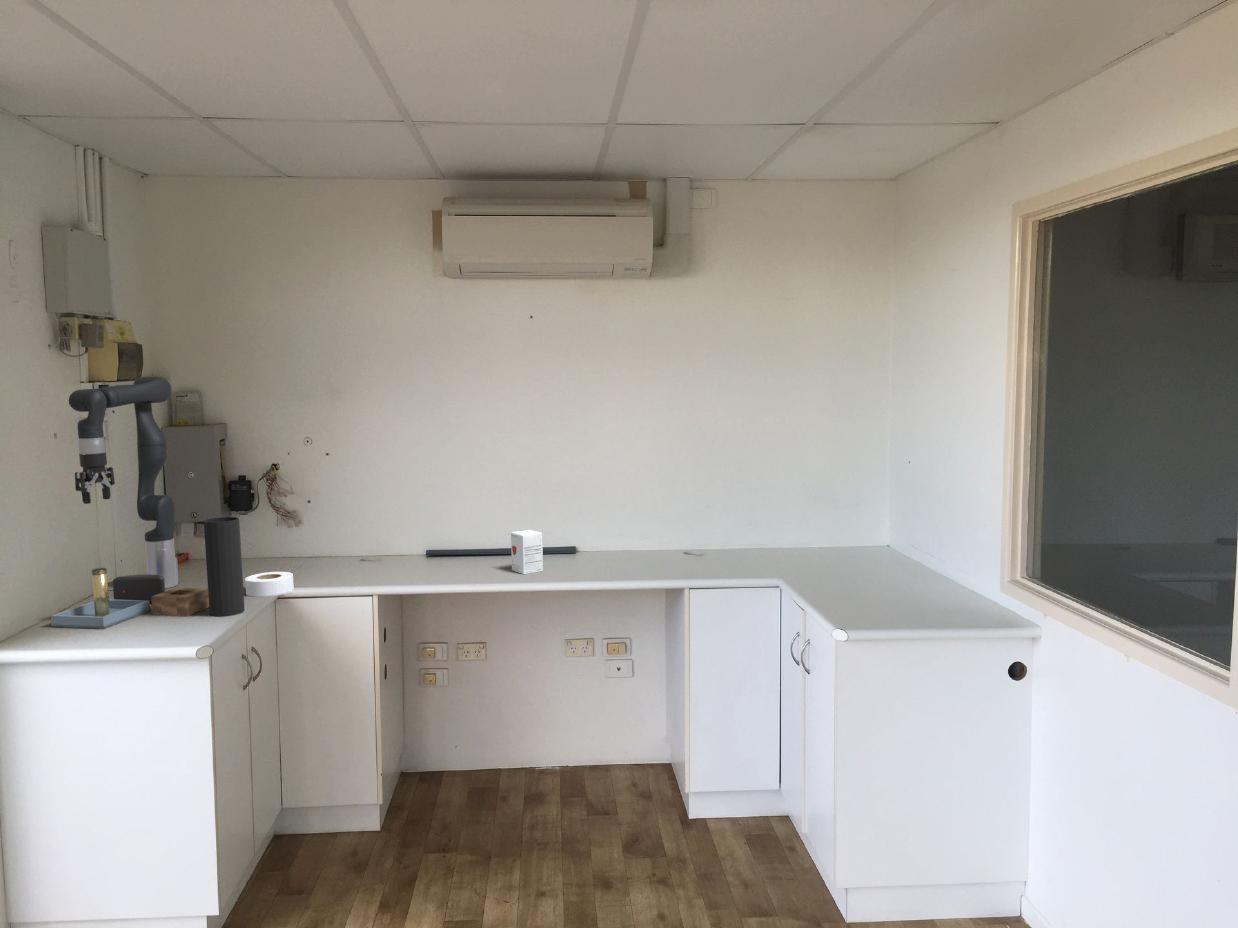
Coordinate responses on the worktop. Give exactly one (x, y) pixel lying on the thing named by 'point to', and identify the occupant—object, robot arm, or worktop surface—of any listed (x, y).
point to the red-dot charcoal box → (138, 587)
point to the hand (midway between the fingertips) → (97, 501)
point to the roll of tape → (269, 584)
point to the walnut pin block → (180, 601)
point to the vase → (224, 566)
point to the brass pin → (100, 592)
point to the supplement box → (527, 551)
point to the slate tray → (87, 619)
